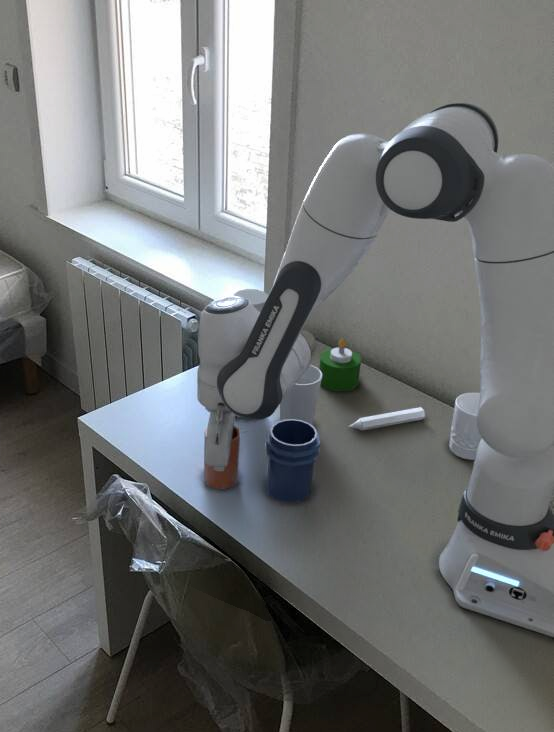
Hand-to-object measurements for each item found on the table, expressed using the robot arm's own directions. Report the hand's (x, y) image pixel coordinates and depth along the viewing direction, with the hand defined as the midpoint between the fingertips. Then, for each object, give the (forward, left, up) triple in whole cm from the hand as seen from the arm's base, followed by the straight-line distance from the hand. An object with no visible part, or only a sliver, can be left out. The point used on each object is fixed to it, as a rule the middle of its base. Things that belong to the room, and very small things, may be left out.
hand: (221, 455), depth 149 cm
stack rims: (-11, -5, +3) cm, 12 cm away
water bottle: (+9, -20, -5) cm, 23 cm away
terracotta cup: (0, 0, -5) cm, 5 cm away
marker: (-15, -33, -5) cm, 37 cm away
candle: (0, -42, -5) cm, 42 cm away
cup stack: (-11, -5, -5) cm, 13 cm away
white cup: (-31, -35, -5) cm, 47 cm away
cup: (-2, -22, -5) cm, 23 cm away
